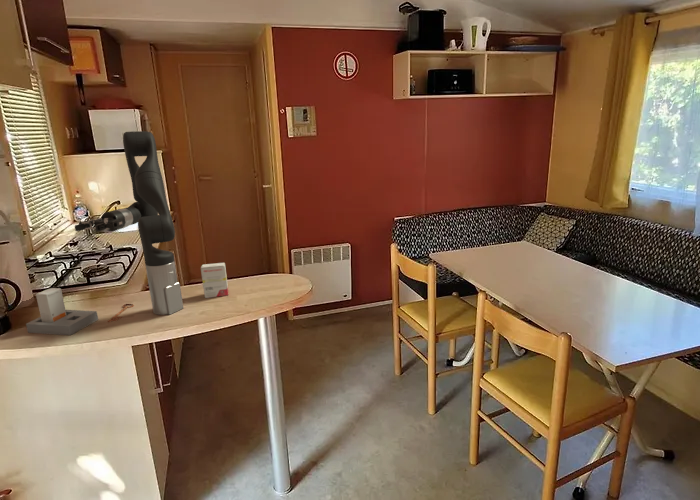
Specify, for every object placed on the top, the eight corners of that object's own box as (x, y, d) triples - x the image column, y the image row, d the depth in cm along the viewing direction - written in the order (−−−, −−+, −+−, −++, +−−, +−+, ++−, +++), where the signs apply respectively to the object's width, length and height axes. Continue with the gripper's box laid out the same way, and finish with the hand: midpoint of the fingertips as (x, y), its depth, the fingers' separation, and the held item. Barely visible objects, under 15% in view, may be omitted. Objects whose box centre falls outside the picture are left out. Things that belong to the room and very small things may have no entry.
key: (120, 323, 153) (141, 306, 168) (120, 321, 153) (140, 303, 167) (102, 322, 153) (125, 305, 168) (102, 320, 153) (124, 302, 167)
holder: (98, 319, 155) (96, 311, 155) (70, 335, 144) (68, 326, 143) (58, 317, 159) (56, 309, 158) (28, 332, 148) (25, 323, 147)
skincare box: (54, 329, 149) (45, 294, 146) (43, 328, 150) (34, 294, 147) (68, 321, 155) (61, 288, 151) (58, 321, 156) (50, 287, 152)
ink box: (228, 291, 177) (225, 261, 174) (228, 295, 172) (224, 265, 169) (205, 293, 175) (201, 263, 172) (204, 298, 171) (200, 267, 167)
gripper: (99, 210, 179) (66, 218, 164) (132, 209, 176) (101, 217, 161) (103, 229, 181) (71, 238, 165) (135, 228, 178) (105, 238, 162)
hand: (86, 228), depth 163 cm, fingers open, 8 cm apart
